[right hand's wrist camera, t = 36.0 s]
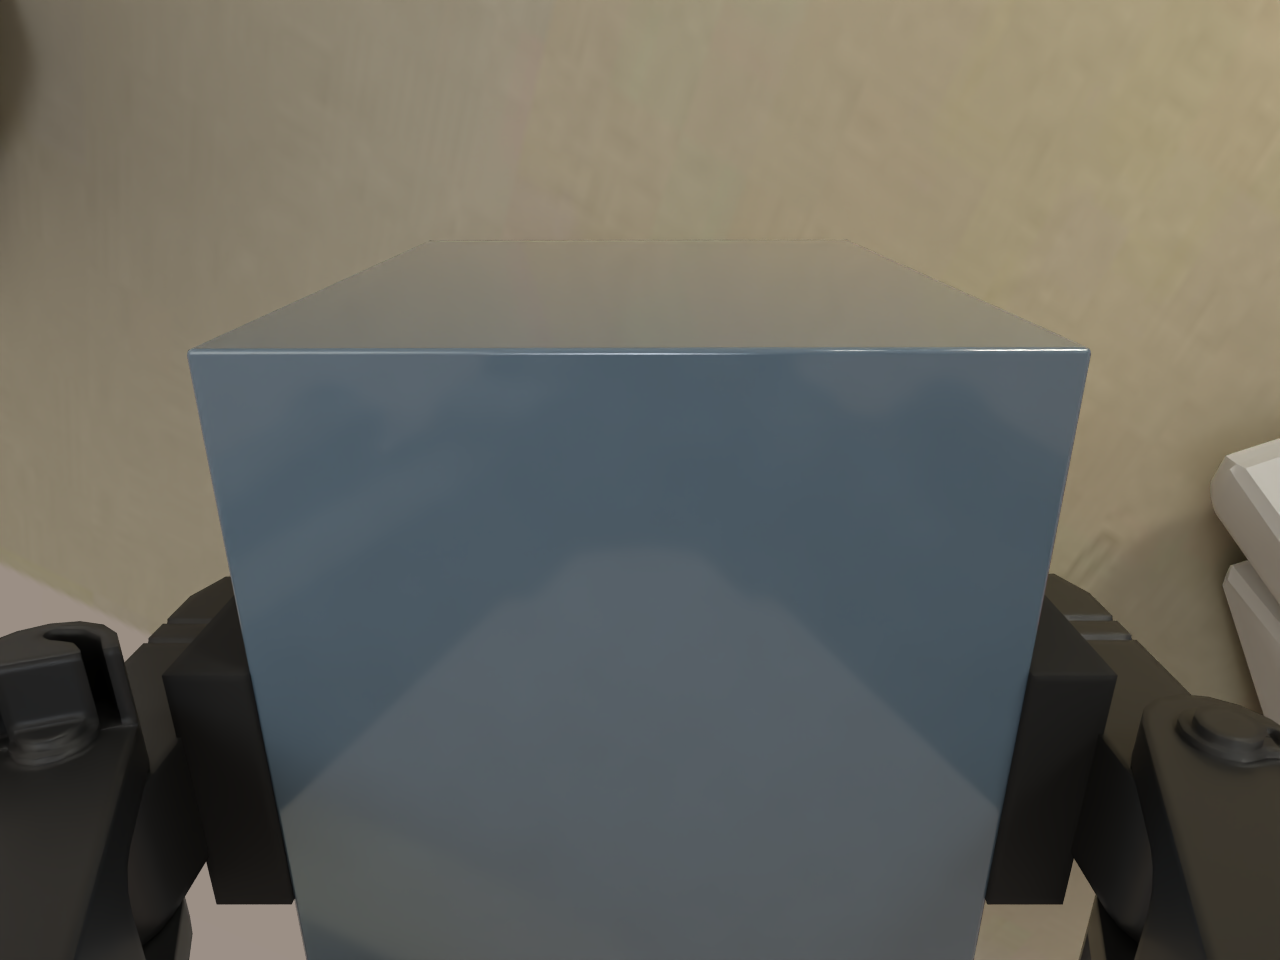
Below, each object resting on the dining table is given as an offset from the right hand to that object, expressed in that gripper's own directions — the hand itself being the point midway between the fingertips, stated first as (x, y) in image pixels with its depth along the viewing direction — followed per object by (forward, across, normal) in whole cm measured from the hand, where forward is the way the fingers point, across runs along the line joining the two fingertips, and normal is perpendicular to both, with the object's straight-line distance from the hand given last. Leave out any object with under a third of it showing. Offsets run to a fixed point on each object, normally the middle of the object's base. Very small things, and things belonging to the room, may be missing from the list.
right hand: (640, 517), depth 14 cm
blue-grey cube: (+2, 0, 0) cm, 2 cm away
